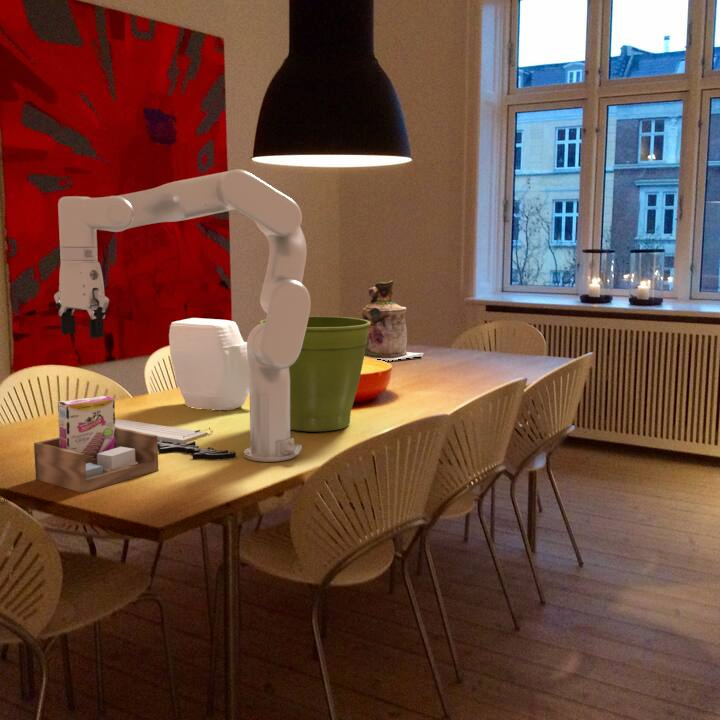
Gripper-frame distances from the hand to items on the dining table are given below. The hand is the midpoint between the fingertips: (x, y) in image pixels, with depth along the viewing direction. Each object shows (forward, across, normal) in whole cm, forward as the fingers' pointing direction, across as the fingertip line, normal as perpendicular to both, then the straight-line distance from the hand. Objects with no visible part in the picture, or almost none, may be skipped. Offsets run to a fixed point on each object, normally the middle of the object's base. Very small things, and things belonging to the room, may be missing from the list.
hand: (82, 335), depth 185 cm
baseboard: (+31, +18, -34) cm, 50 cm away
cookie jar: (+30, +43, -179) cm, 187 cm away
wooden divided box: (+30, -4, 0) cm, 31 cm away
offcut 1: (+31, -8, +6) cm, 32 cm away
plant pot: (+31, -12, -66) cm, 73 cm away
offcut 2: (+28, -8, -2) cm, 29 cm away
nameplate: (+31, -4, -26) cm, 40 cm away
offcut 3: (+31, -8, -2) cm, 32 cm away
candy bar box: (+31, 0, 0) cm, 31 cm away
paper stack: (+31, +27, -65) cm, 77 cm away
